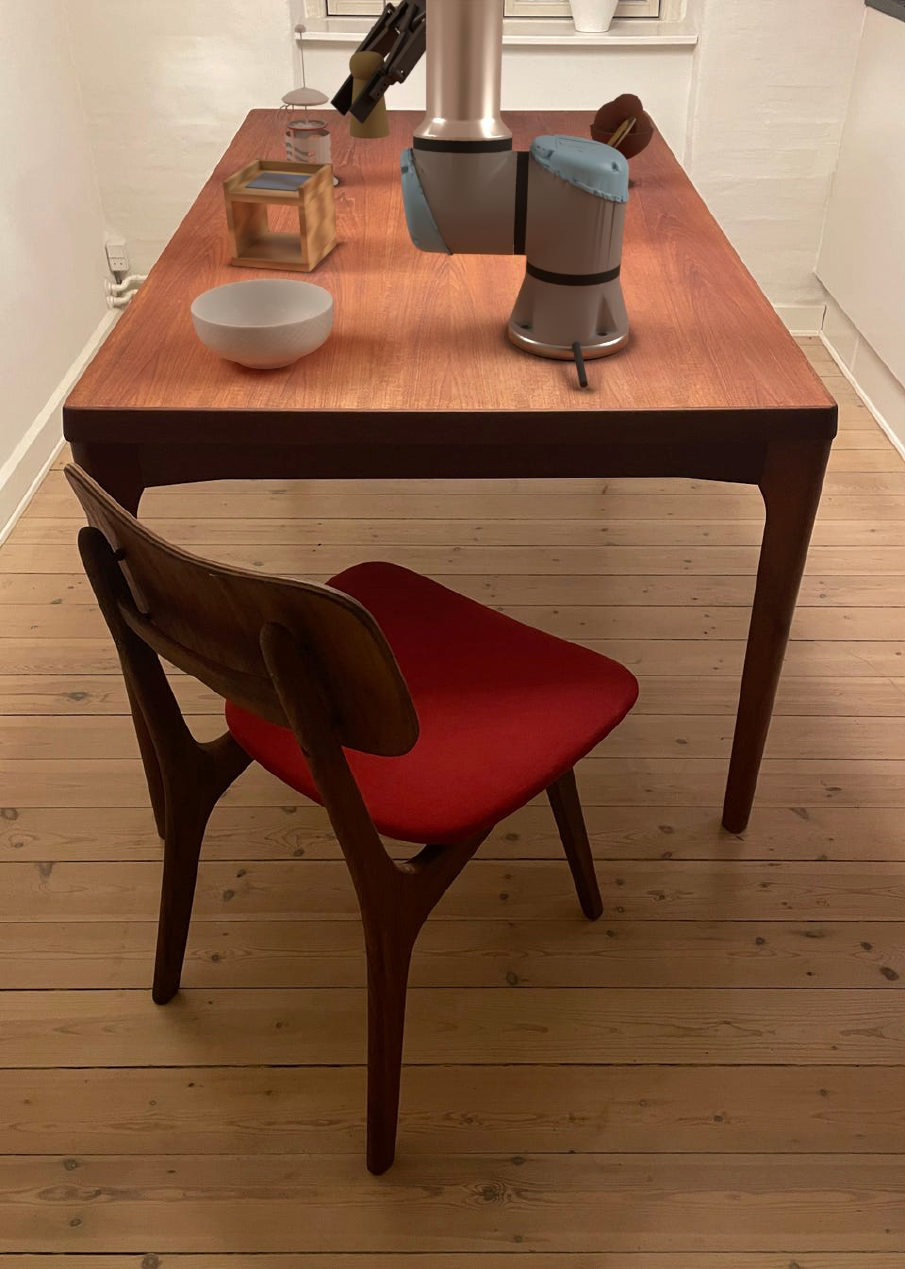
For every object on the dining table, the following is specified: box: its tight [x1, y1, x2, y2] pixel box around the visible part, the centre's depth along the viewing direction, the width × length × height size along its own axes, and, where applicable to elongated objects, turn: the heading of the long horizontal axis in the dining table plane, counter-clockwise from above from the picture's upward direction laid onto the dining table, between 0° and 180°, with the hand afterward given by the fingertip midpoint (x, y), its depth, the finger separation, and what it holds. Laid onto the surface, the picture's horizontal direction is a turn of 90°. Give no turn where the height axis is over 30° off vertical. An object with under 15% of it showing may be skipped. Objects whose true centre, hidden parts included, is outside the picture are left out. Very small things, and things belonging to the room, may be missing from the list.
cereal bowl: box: [190, 278, 335, 370], centre depth 135 cm, size 17×17×7 cm
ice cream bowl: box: [589, 93, 655, 188], centre depth 194 cm, size 11×11×15 cm
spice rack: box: [222, 157, 338, 273], centre depth 164 cm, size 13×12×12 cm
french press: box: [275, 23, 339, 186], centre depth 192 cm, size 10×12×25 cm
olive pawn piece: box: [348, 51, 391, 140], centre depth 164 cm, size 6×6×11 cm
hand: (346, 112), depth 164 cm, fingers closed on olive pawn piece, 5 cm apart
